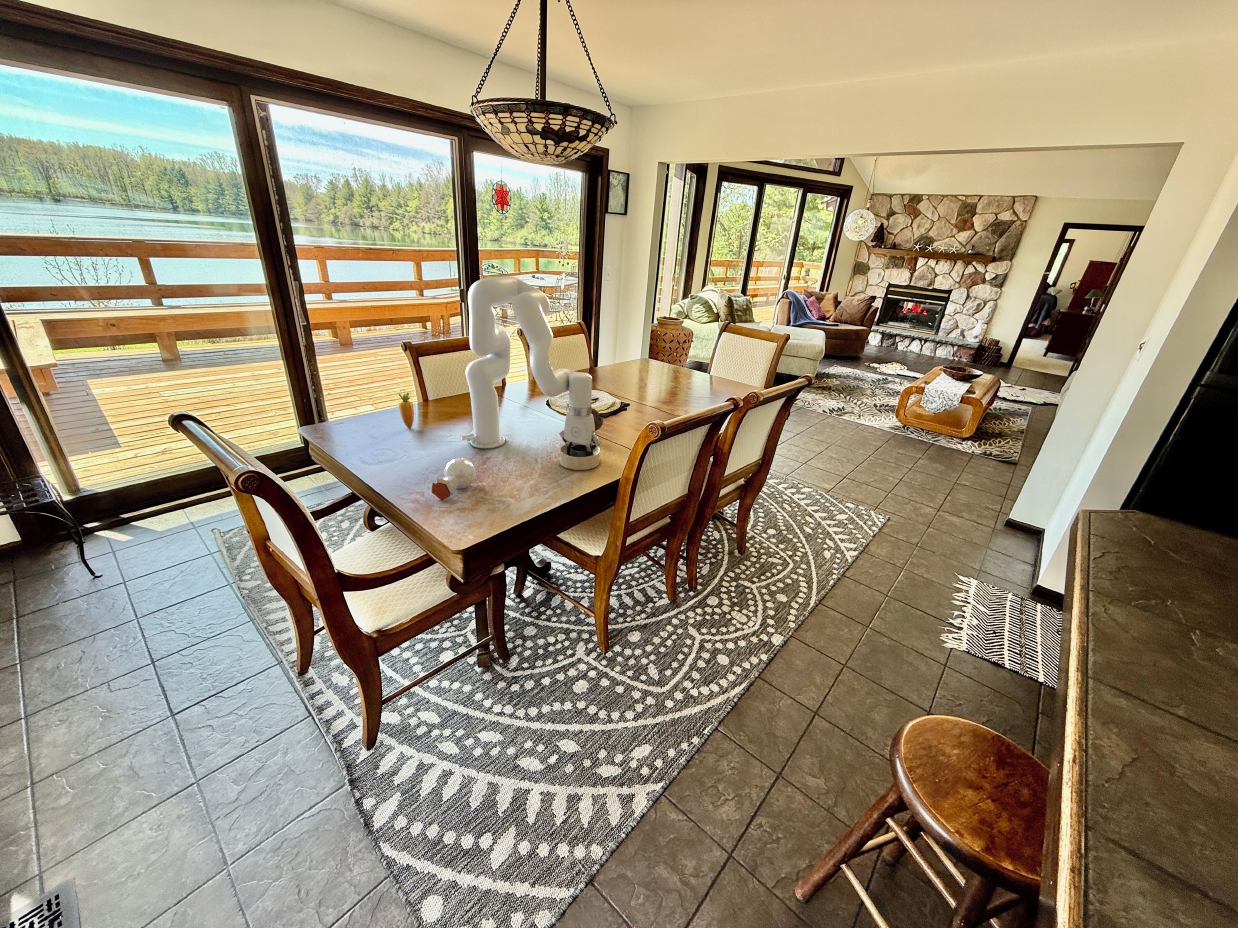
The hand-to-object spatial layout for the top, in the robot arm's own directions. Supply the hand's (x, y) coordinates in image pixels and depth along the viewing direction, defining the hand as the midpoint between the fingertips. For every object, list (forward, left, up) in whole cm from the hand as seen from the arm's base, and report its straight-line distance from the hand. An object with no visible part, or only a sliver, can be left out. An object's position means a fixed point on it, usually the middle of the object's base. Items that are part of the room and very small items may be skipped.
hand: (579, 457), depth 168 cm
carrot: (-48, +55, -2) cm, 73 cm away
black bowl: (0, 0, -1) cm, 1 cm away
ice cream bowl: (+11, +15, -2) cm, 19 cm away
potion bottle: (-43, -3, -2) cm, 43 cm away
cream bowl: (0, 0, -2) cm, 2 cm away
